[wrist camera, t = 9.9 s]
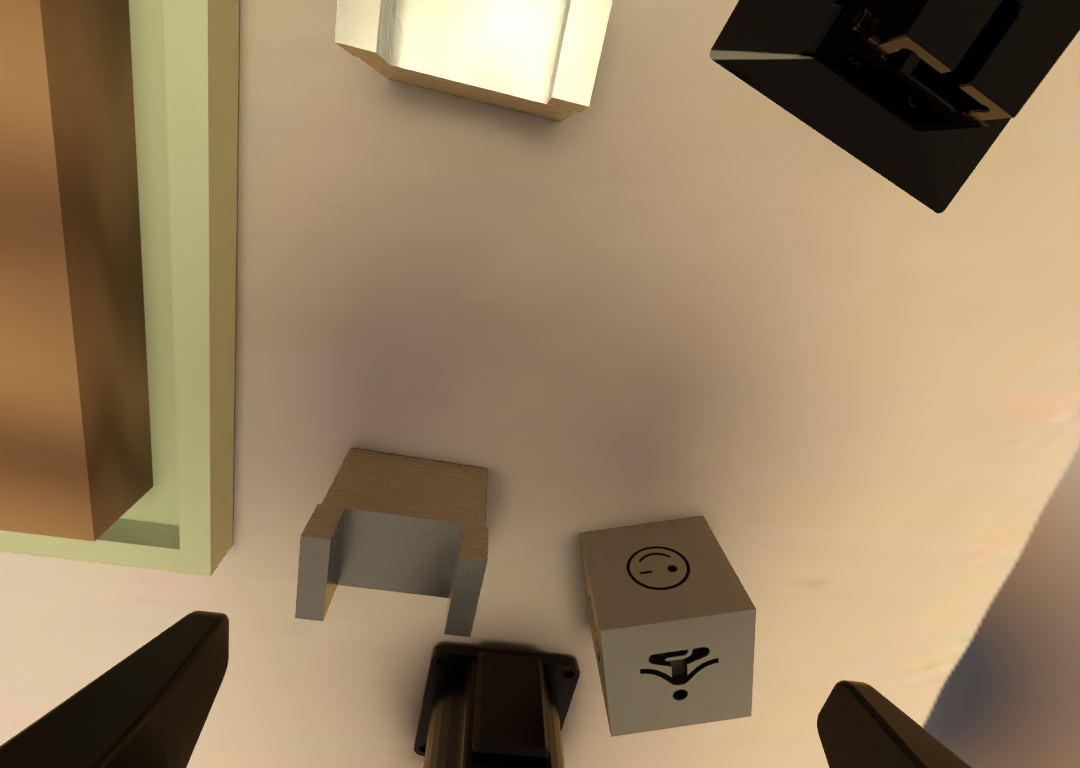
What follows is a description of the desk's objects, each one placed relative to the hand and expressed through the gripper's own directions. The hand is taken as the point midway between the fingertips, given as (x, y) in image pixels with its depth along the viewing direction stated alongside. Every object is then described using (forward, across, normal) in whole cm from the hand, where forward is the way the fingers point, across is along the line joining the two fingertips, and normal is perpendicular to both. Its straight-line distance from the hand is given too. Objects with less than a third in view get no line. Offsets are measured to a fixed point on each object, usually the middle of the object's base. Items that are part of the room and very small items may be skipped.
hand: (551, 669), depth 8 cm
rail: (+12, +13, -2) cm, 18 cm away
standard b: (+12, +3, -10) cm, 16 cm away
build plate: (+13, -8, -12) cm, 19 cm away
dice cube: (+12, -7, +8) cm, 16 cm away
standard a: (+12, +3, +6) cm, 14 cm away
